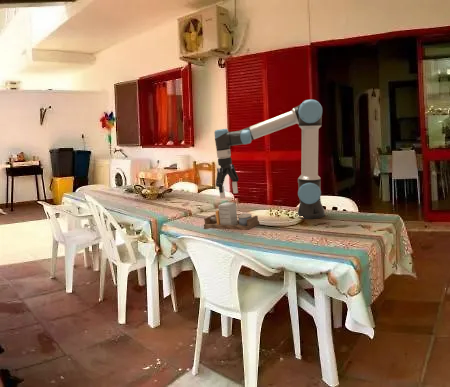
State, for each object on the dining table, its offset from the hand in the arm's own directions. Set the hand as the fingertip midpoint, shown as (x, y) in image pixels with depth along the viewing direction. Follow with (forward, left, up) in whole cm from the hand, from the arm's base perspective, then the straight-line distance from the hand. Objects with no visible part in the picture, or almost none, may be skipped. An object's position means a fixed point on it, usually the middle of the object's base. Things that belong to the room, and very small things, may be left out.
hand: (229, 195), depth 244 cm
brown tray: (+1, 0, -18) cm, 18 cm away
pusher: (+7, 0, -17) cm, 18 cm away
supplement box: (+2, 0, -17) cm, 17 cm away
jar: (-9, 0, -17) cm, 19 cm away
